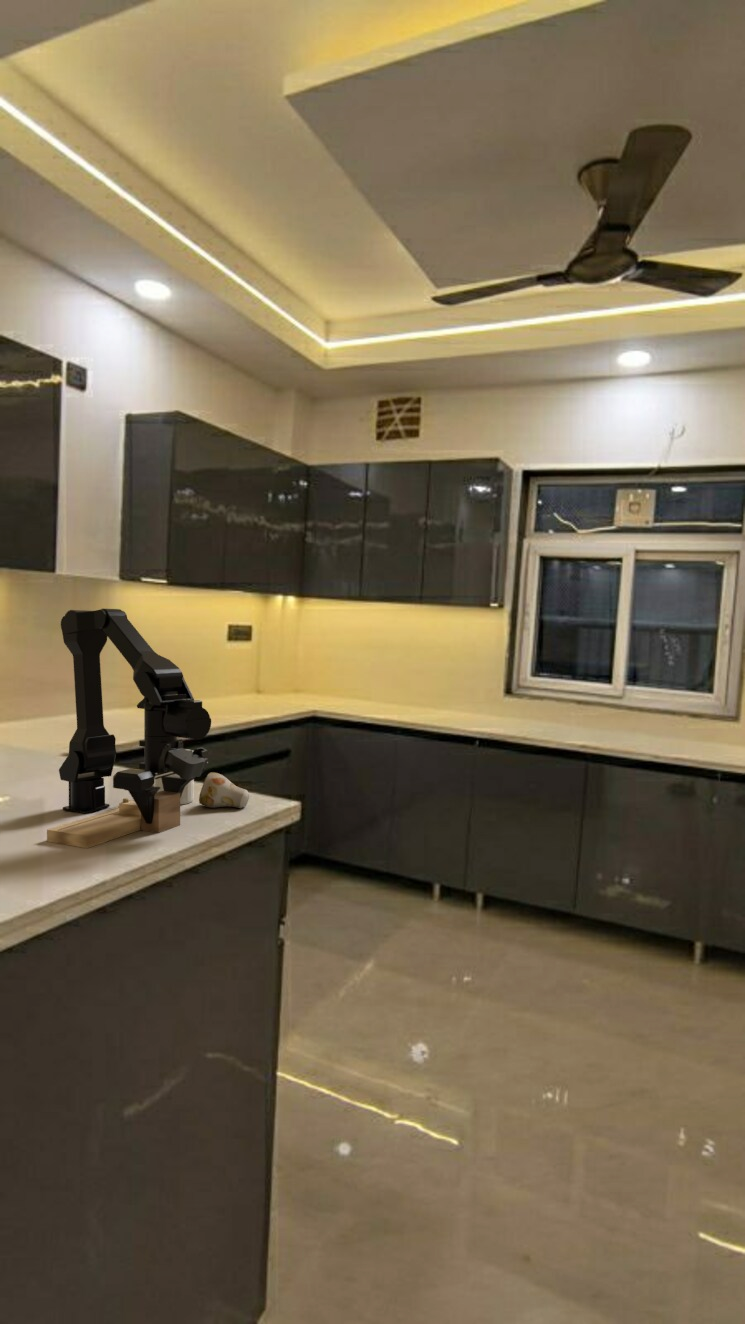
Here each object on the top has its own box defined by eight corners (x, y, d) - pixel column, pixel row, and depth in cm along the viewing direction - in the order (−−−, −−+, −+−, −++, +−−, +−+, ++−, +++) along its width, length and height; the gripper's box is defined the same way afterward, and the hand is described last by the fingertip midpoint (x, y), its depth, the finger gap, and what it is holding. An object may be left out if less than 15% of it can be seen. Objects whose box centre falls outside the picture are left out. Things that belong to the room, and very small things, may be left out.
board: (46, 841, 127) (46, 829, 127) (136, 812, 147) (136, 802, 147) (87, 848, 123) (87, 835, 123) (173, 818, 143) (173, 807, 143)
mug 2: (193, 805, 154) (193, 754, 154) (153, 806, 153) (153, 755, 152) (194, 792, 166) (194, 745, 166) (157, 793, 164) (157, 746, 164)
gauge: (112, 825, 137) (112, 793, 137) (134, 818, 143) (134, 787, 143) (158, 832, 133) (158, 799, 133) (180, 824, 139) (180, 792, 138)
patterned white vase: (249, 813, 149) (223, 771, 147) (209, 830, 152) (184, 790, 150) (259, 796, 156) (235, 756, 154) (221, 813, 159) (197, 774, 157)
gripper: (162, 745, 124) (162, 837, 125) (227, 731, 141) (227, 812, 142) (110, 740, 128) (110, 829, 129) (179, 727, 146) (179, 806, 146)
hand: (160, 819), depth 137 cm, fingers closed on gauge, 6 cm apart
